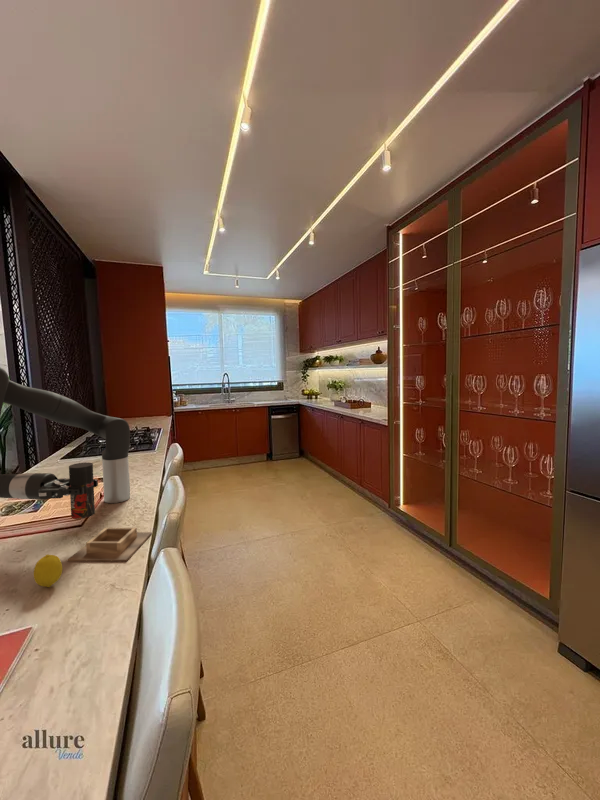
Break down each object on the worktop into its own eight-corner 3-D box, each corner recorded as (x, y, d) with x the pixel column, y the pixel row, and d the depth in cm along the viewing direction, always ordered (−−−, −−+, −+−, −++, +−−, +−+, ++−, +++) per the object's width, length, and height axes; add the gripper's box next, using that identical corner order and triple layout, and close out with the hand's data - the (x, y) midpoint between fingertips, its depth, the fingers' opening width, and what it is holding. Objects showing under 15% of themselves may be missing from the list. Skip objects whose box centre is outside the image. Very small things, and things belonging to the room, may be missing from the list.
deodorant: (99, 511, 105) (97, 462, 104) (85, 519, 99) (82, 468, 98) (81, 510, 105) (79, 462, 104) (66, 518, 100) (63, 467, 98)
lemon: (68, 582, 84) (66, 551, 84) (45, 596, 79) (43, 562, 79) (52, 578, 86) (50, 547, 86) (28, 591, 81) (26, 558, 80)
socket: (101, 534, 110) (101, 523, 109) (151, 534, 110) (151, 523, 109) (67, 561, 94) (66, 548, 93) (126, 561, 94) (125, 549, 93)
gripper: (12, 481, 94) (73, 482, 94) (51, 466, 109) (104, 467, 108) (14, 508, 95) (74, 508, 95) (52, 490, 109) (105, 490, 109)
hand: (90, 486), depth 101 cm, fingers closed on deodorant, 6 cm apart
